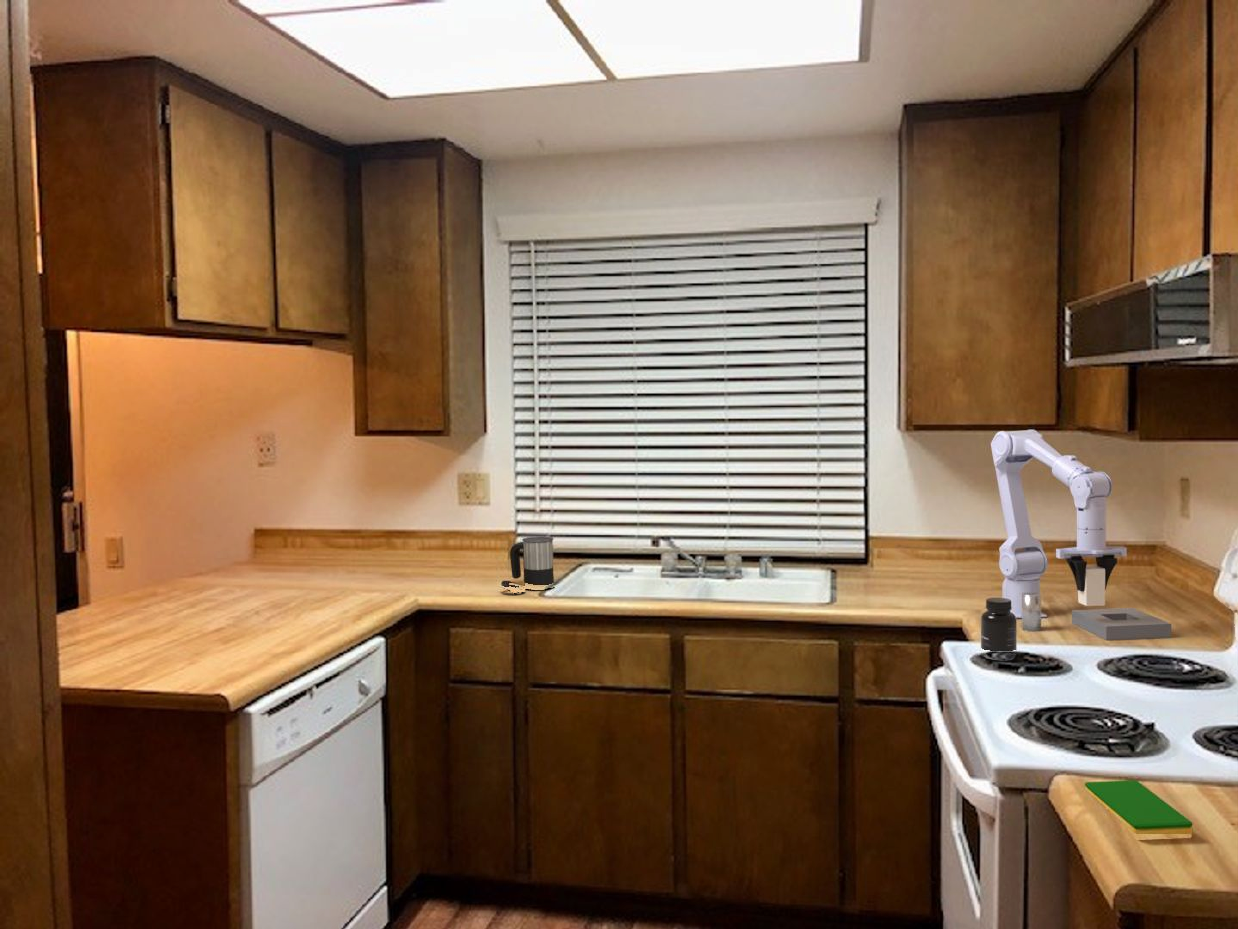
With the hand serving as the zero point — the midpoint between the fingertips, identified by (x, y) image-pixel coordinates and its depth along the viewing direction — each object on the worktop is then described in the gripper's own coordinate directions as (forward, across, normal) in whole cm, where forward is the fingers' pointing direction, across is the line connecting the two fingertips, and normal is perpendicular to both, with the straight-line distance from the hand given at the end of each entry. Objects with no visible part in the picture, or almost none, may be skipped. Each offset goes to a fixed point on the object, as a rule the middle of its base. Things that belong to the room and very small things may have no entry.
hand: (1091, 590), depth 222 cm
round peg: (+10, -10, +7) cm, 16 cm away
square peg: (+3, 0, 0) cm, 3 cm away
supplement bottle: (+10, -26, -15) cm, 32 cm away
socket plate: (+10, +8, +3) cm, 13 cm away
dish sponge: (+10, -37, -92) cm, 99 cm away
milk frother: (+10, -129, +74) cm, 150 cm away
